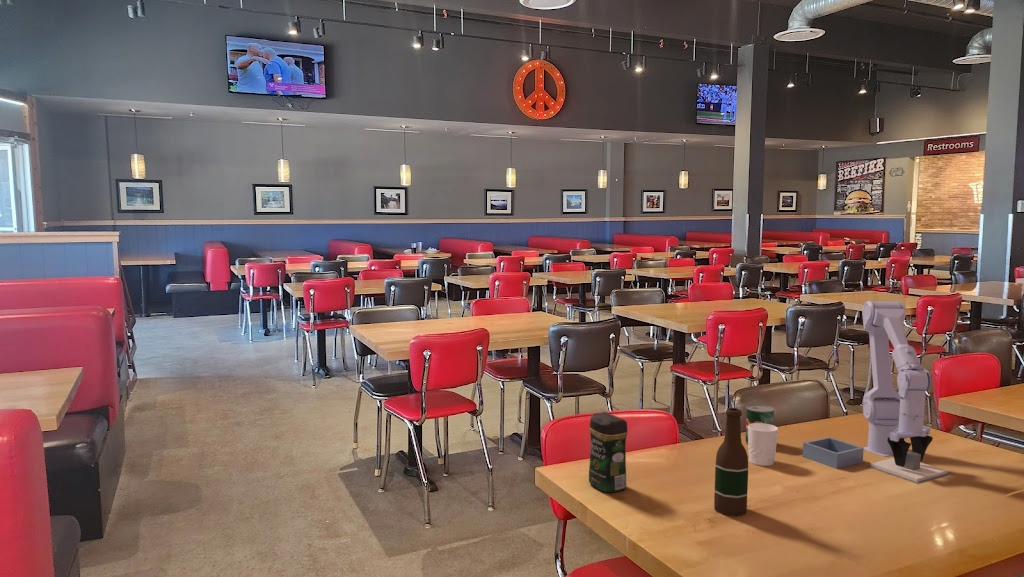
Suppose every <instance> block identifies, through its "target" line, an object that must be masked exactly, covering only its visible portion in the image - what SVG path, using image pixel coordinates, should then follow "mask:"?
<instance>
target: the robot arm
mask: <svg viewBox="0 0 1024 577" xmlns="http://www.w3.org/2000/svg"><path fill="white" fill-rule="evenodd" d="M861 312H862V323H863V329H864V330H865V331H866V332H868V336H869V337H868V338H869V349H870V350H869V351H870V361H871V372H872V375H871V376H872V385H873V387H872V388H871V389H870V390H868V391H867V392H866V393H865V394H864V395H863V405H862V413H863V416H864V418H865V419H866V420H867V421H868V435H867V436H868V437H867V438H868V439H867V446H864V447H862V446H861V447H862V448H864V451H865V452H869V453H871V454H872V453H873V454H876V455H879V456H881V457H885V458H887V457H890V456H893V458H894V460H895V465H898V466H901V467H904V465H905V462H906V456H907V452H908V451H909V449H910V447H911V451H912V452H915V453H918V454H921V459H920V462H921V463H923V459H924V456H925V453H926V451H927V449H928V447H929V445H930V444H931V442H932V441H933V439H934V437H933V436H931V427H930V426H926V425H924V421H925V419H924V418H925V408H926V405H925V404H926V392H928V391H929V390H930V388H931V386H932V378H931V377H932V376H931V375H930V372H929V370H928V369H926V368H925V367H924V366H923V365H921V362H920V360H919V357H918V354H917V352H916V349H915V348H914V347H913V346H911V345H909V342H908V338H907V335H906V331H905V327H904V322H905V318H906V307H905V305H904V303H903V302H902V301H901V300H897V301H884V300H883V301H881V300H880V301H878V300H877V301H876V300H875V301H874V300H867V301H865V303H864V304H863V307H862V311H861ZM889 340H890V342H891V344H892V346H893V348H894V349H893V350H892V352H891V354H890V344H889ZM891 356H892V358H893V361H894V364H895V366H896V369H897V372H898V373H897V377H896V384H897V388H898V391H897V390H895V389H894V388H893V387H894V386H893V378H892V376H893V375H892V367H891V365H892V364H891ZM906 439H910V442H906Z"/></svg>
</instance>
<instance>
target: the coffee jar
mask: <svg viewBox="0 0 1024 577" xmlns="http://www.w3.org/2000/svg"><path fill="white" fill-rule="evenodd" d="M589 434H590V450H589V451H590V453H589V456H590V457H589V465H588V467H589V469H588V483H589V484H590V485H591V486H592V487H594V488H595V489H598V490H600V491H601V492H603V491H604V493H619V492H620V491H623V490H625V489H626V487H627V466H626V465H627V462H626V457H627V456H626V452H627V451H626V443H627V437H628V422H627V420H625V419H623V418H621V417H619V416H616V415H614V414H611V413H608V412H607V411H601V412H596V413H593V414H592V416H591V417H590V422H589Z"/></svg>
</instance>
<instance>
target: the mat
mask: <svg viewBox="0 0 1024 577" xmlns="http://www.w3.org/2000/svg"><path fill="white" fill-rule="evenodd" d="M870 465H871V463H870V464H866V465H865V467H867V468H870V469H873V470H876V471H878V472H882V473H885V474H887V475H891V476H893V477H896V478H899V479H902V480H905V481H908V482H911V483H913V484H916V485H921V484H924V483H927V482H930V481H935V480H939V479H941V478H945V477H950V476H952V475H953V473H950V472H947V474H944V475H940V476H937V477H933V478H930V479H926V480H922V481H919V482H915V481H912V480H909V479H906V478H903V477H901V476H898V475H895V474H892V473H889V472H886V471H883V470H880V469H877V468H874V467H871V466H870Z"/></svg>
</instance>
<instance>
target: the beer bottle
mask: <svg viewBox="0 0 1024 577" xmlns="http://www.w3.org/2000/svg"><path fill="white" fill-rule="evenodd" d="M725 415H726V421H725V432H724V438H723V442H721V444H720V446H718V448H717V451H716V458H715V465H714V466H715V468H714V470H715V471H714V496H713V498H714V502H713V505H714V506H713V507H714V511H716V512H717V513H719V514H721V515H723V516H729V517H739V516H744V515H746V514H747V506H748V486H749V485H748V484H749V483H748V482H749V454H748V453H747V449H746V448H745V446H744V444H743V443H742V436H741V435H742V431H741V430H742V429H741V427H742V424H741V417H742V415H743V412H742V410H741V409H740V408H737V407H729V408H726V411H725Z"/></svg>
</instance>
